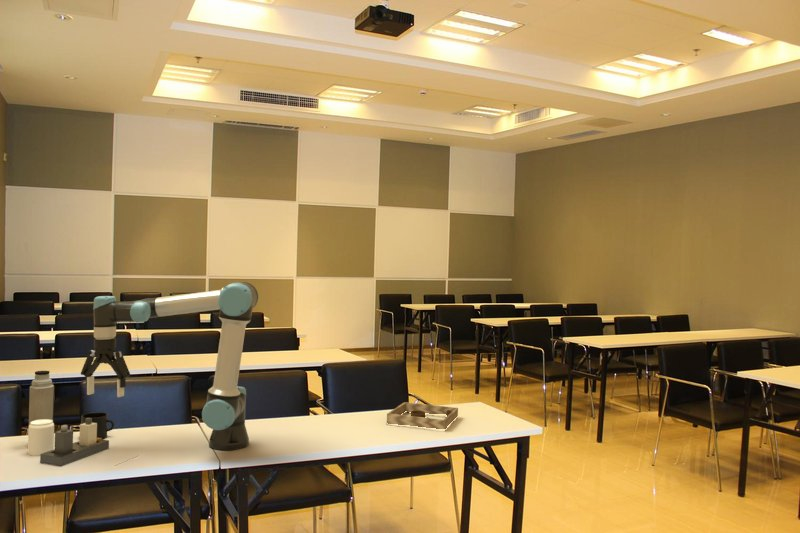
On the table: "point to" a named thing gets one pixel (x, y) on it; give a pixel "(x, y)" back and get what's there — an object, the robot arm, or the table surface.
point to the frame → (399, 419)
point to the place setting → (422, 413)
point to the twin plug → (63, 441)
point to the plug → (88, 433)
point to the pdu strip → (74, 453)
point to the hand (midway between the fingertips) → (105, 395)
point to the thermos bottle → (41, 397)
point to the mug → (99, 422)
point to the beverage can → (40, 436)
